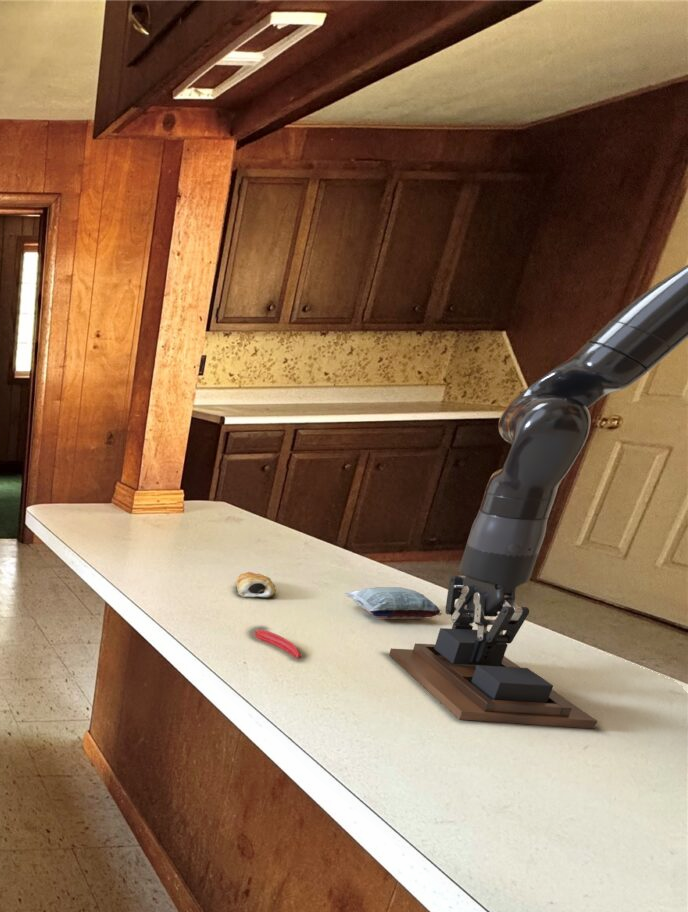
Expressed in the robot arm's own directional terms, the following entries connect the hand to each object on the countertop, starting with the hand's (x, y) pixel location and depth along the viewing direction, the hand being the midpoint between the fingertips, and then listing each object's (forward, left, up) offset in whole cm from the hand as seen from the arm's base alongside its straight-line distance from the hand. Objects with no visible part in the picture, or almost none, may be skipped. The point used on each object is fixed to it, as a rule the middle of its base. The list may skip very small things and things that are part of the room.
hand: (467, 654), depth 97 cm
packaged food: (0, -22, -3) cm, 22 cm away
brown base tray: (0, +5, -3) cm, 6 cm away
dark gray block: (0, 0, 0) cm, 0 cm away
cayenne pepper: (+23, -7, -4) cm, 25 cm away
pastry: (+20, -31, -3) cm, 37 cm away
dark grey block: (0, +10, -2) cm, 10 cm away
